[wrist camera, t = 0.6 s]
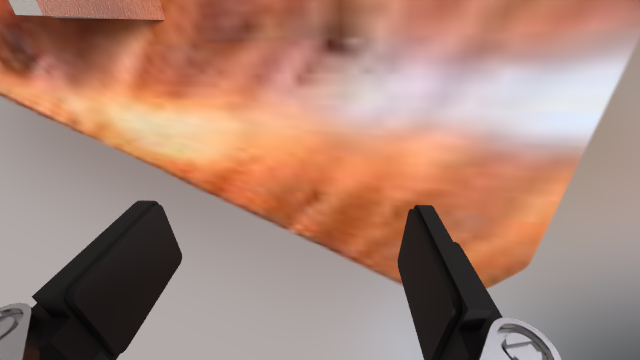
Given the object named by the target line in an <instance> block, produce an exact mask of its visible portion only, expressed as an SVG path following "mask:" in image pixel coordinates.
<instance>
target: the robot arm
mask: <svg viewBox="0 0 640 360" xmlns="http://www.w3.org/2000/svg"><path fill="white" fill-rule="evenodd" d="M181 260H182V253H181V251H180V248H179V246H178V243H177V241H176V238H175V236H174V233H173V231H172V229H171V226H170V224H169V221H168V219H167V216H166V214H165V211H164V209H163V207H162V206H161V205H159V204H158V202H156V201H137V202H136V203H134V204H133V205H132V206H131V207H130V208H129V209H128V210H127V211H125V212H124V213H123V214H122V215H121V216H120V217H119V218H118V219H117V220H116V221H115V222H113V223H112V224H111V225H110V226H109V227H108V228H107V229H106V230H105V231H104V232H102V233H101V234H100V235H99V236H98V237H97V238H96V239H95V240H94V241H92V242H91V243H90V244H89V245H88V246H87V247H86V248H85V249H84V250H83V251H81V253H79V254H78V255H77V256H76V257H75V258H74V259H73V260H72V261H70V262H69V263H68V264H67V265H66V266H65V267H64V268H63V269H62V270H61V271H60V272H58V273H57V274H56V275H55V276H54V277H53V278H52V279H51V280H50V281H48V282H47V283H46V284H45V285H44V286H43V287H42V288H41V289H40V290H39V291H38V292H36V293H35V294H34V295H33V296H32V297H33V299H34V300H35V301H36V302H37V304H36V305H35V306H34V307H33V308H31V307H30V306H29V305H27V304H24V303H16V304H10V305H7V306H4V307H1V308H0V360H116V359H117V357H118V356H119V354H121V353H123V352H124V351H125V350H126V349H127V347H128V346H129V344H130V343H131V341H132V339H133V338H134V336H135V335H136V333H137V332H138V330H139V328H140V327H141V325H142V324H143V322H144V320H145V319H146V317H147V315H148V314H149V312H150V311H151V309H152V308H153V306H154V304H155V303H156V301H157V300H158V298H159V297H160V295H161V293H162V292H163V290H164V289H165V287H166V285H167V284H168V282H169V281H170V279H171V277H172V275H173V274H174V273H175V271H176V269H177V268H178V266H179V265H180V263H181ZM398 268H399V272H400V276H401V279H402V283H403V286H404V290H405V293H406V297H407V300H408V303H409V308H410V311H411V315H412V318H413V322H414V325H415V329H416V332H417V336H418V339H419V343H420V346H421V350H422V354H423V357H424V360H561V358H560V356H559V354H558V351H557V350H556V348H555V347H554V346H553V345H552V344H551V342H550V341H549V340H548V339H547V338H546V337H545V336H544V335H543V334H542V333H541V332H540V331H538V330H537V329H535V328H534V327H532V326H531V325H529V324H527V323H525V322H522V321H520V320H517V319H513V318H503V317H502V316H501V314H500V312H499V310H498V309H497V307H496V305H495V304H494V302H493V300H492V299H491V297H490V295H489V293H488V292H487V290H486V288H485V287H484V285H483V283H482V282H481V280H480V278H479V276H478V275H477V273H476V271H475V270H474V268H473V266H472V265H471V263H470V261H469V260H468V258H467V256H466V255H465V253H464V251H463V249H462V248H461V246H460V245H459V244H458V243H456V242H453V241H452V239H451V237H450V235H449V234H448V232H447V230H446V228H445V227H444V225H443V223H442V221H441V219H440V218H439V216H438V214H437V212H436V211H435V209H434V207H433V206H431V205H416V206H415V207H414V209H410V210H409V212H408V217H407V221H406V225H405V230H404V234H403V239H402V243H401V248H400V252H399V257H398Z"/></svg>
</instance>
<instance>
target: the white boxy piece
mask: <svg viewBox="0 0 640 360" xmlns="http://www.w3.org/2000/svg"><path fill="white" fill-rule="evenodd" d="M9 2H10V4H11V6H12V8H13V10H14V12H15V14H16V15H33V16H52V18H84V19H141V20H165V19H164V15H163V11H162V7H161V3H160V0H9Z"/></svg>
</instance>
